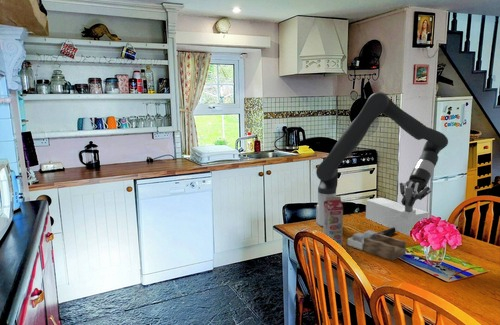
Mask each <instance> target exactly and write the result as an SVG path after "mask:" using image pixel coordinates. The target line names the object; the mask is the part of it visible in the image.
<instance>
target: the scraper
mask: <svg viewBox="0 0 500 325" xmlns="http://www.w3.org/2000/svg"><path fill="white" fill-rule="evenodd" d="M413 193H414V192H413V188H411V187H407V186H406V188H405V211H403V212H402V218H406V219H410V218H412V217H414V216H416V210H414V209H413V208H414V207H413V206H414V205H413V206H412V207H409V205H408V203H409V201H410V199H411V197H413V196H412V195H413Z"/></svg>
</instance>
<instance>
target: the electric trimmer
mask: <svg viewBox="0 0 500 325" xmlns="http://www.w3.org/2000/svg"><path fill="white" fill-rule="evenodd" d="M377 233H378V234H382V235H385V236H388V237H391V236H392V235H393V234H395V233H396V230H395V228H388V229H386V230H383V231H380V232H377Z"/></svg>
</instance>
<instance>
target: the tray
mask: <svg viewBox="0 0 500 325" xmlns="http://www.w3.org/2000/svg"><path fill="white" fill-rule="evenodd" d="M346 241H347V242H346V245H347V246H348V247H351V248H355V249H358V250H360V251H364V243H360V242H357V241H354V240H353V236H351V237H348V238H347V240H346Z"/></svg>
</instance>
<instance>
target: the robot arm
mask: <svg viewBox="0 0 500 325" xmlns="http://www.w3.org/2000/svg"><path fill="white" fill-rule="evenodd" d="M380 114H382V115H384V116H386V117H388V118H389V119H391V120H392V121H393V122H395V124H396V125H397V126H399V128H401V129H402V130H403V131H404V132H406V133H407V134H408V135H409V136H411V137H412V138H413V139H416V140H417V141H420V140H425V141H426V142H425V143H424V145H423V148H422V152H421V155H420V156H419V159H418V161H417V162H416V164H415V165H414V167H413V169H412V171H411V173H410V176H409V178H408V180H407V181H405V183H403V182H399V192H400V194H401V196H402V199H401V204H402V205H404V206H405V188H407V187H411V188H413V195H412V196H413V197H411V199H410V201H409V203H408V205H409V207H412V206H414V205H415V202H416V201H417V200H420V201H422V200H423V199H424V198H425V197H426V196H428V195H429V194H430V193H432V190H431V188H430V186H427V185H428V183H429V182H430V180H431V177H432V175H433V173H434V170H435V167H436V165H437V163H438V160H439V154H440V152H441V151H442V150H443V149H445V148H446V147H447V146H448V144H449V139H448V137H447V136H446V135H445V134H444V133H443V132H441V131H438V130H435V129H433V128H431V127H427V126H426V124H425V125H424V123H423V122H421V121H419V120H418V119H417V118H415V117H414V116H412V115H411V114H409V113H407V112H406V111H405V110H403V109H402V108H400V107H399V106H398V105H397V104H396V103H395V102H394V101H393V100H392V99H391V98H390V97H389V96H388V95H387V94H386V93H385V92H382V91H377V92H374V93H372V94H371V95H370V96H368V98H367V100H366V102H365V104H364V105H363V107H362V109H361V110H360V112H359V113H358V115H357V116H356V117H355V118H354V120H352V122H350V123H349V125H348V126H347V127H346V128H345V130H344V131H343V133H342V134H341V135H340V137H339V138H338V139H337V142H336V143H335V144H334V145H333V147H332V149H331V151H330V152H329V154H328V155H326V157H325V158H324V159H323V160H322V161H321V162H320V163H319V165H318V166H317V168H316V171H315V174H316V176H317V179H318V180H319V181H320V182H319V185H318V186H317V205H316V208H315V210H316V211H315V212H316V213H315V218H316V219H315V223H316V224H317V225H318V226H320V227H323V217H324V202H325V201H326V197H337V188H338V179H339V178H338V177H339V169H338V168H339V166H340V164H341V163H342V162H343V161H344V160H345V159H347V158H348V156H349V155H351V153H353V152H354V150H356V149H357V147H358V146H359V145H360V143H361V142H362V141H363V140H364V138H365V136H366V134H367V132H368V130H369V128H370V127H371V125H372V123H373V122H374V121H375V120H376V119H377V118H378V117H379V116H380Z"/></svg>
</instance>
